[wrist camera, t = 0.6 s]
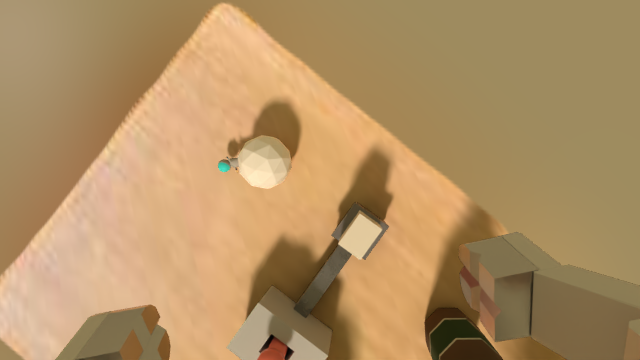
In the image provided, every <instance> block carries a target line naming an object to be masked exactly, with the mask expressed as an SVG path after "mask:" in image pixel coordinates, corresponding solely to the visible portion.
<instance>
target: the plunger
mask: <svg viewBox="0 0 640 360" xmlns="http://www.w3.org/2000/svg"><path fill="white" fill-rule="evenodd" d="M287 350H288V346H287V345H285V344H284V343H283V342H281V341H280V340H279V339H278V338H276V337H275V336H274V337H273V339H272V341H271V343H270V345H269V347H268V348H267V349H265V350H263V351H262V352H261V354H260V355H259V357H258V359H257V360H285V358H284V357H285V355H286V352H287Z"/></svg>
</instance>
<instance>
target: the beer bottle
mask: <svg viewBox="0 0 640 360" xmlns="http://www.w3.org/2000/svg"><path fill="white" fill-rule="evenodd" d="M425 336H426V343H427V347H428V349H429V352H430V354H431V357H432V359H433V360H503V359H502V357H501V356H500V355H499V354H498V352H497V351H496V350H495V348H494V347H493V346H492V345H491V343H490V342H489V341H488V340H487V338H486V337H485V336H484V335H483V333H482V332H481V331H480V330H479V328H478V327H477V326H476V325H475V324H474V323H473V322H472V321H471V320H470V319H469V318H468V317H467V316H466V315H464V314H463V313H462V312H461V311H460V310H459V309H458V308H438V309H437V310H436V311H435V312H434V313H433V314H432V315H431V316H430V317H429V318H428V319H427V320H426V321H425Z"/></svg>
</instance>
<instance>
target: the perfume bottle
mask: <svg viewBox="0 0 640 360" xmlns="http://www.w3.org/2000/svg"><path fill="white" fill-rule="evenodd" d="M227 158H228V157H227ZM228 160H229V161H228ZM228 160H221V161H220V162H219V163H218V168H219V170H220V171H222V172H227V171H228V170H229V169H230V168H231V166H232V167H234V168H235V169H236V172H237V173H238V171H237V168H236V167H239V171H240V174H241V175H242V176H243V177H244V178H245V179H246V180H247V181H248V182H249V183H250V185H251V186H255V187H261V188H266V189H270V188H272V187H274V186H276V185H278V184H280V183H282V182H284V180H285V179H286V177H287V175H288V173H289V171H290V170H291V168H292V166H291V156H290V151H289V150H288V149H287V148H286V147H285V145H284V144H283V143H282V142H281V141H280V140H279V139H278V138H274V137H271V136H265V135H261V136H258V137H256V138H254V139H251V140H249V141H247V142H246V143H245V145H244V146H243V148H242V150H241V152H240V153H239V155H238V158H231V159H229V158H228Z"/></svg>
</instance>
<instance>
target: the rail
mask: <svg viewBox="0 0 640 360" xmlns="http://www.w3.org/2000/svg"><path fill="white" fill-rule="evenodd" d="M364 209H366V208H364ZM366 210H367V211H369V210H368V209H366ZM369 212H370V213H371V214H373V213H372V212H371V211H369ZM373 215H374V216H376V215H375V214H373ZM376 217H377V216H376ZM377 218H378V217H377ZM351 255H352V254H351V253H350V252H348V251H347V250H345V249H344V248H343V247H341V246H340V245H339V244H338V245H337V247H336V248H335V249H334V251H333V252H332V254H331V255H330V256H329V258H328V259H327V261H326V262H325V263H324V265H323V266H322V268H321V269H320V270H319V272H318V273H317V275H316V276H315V277H314V279H313V280H312V282H311V283H310V284H309V286H308V287H307V289H306V290H305V291H304V293H303V294H302V296H301V297H300V298H299V300H298V301H297V303H296V304H295V306H294V308H293V309H294V310H295V311H297V312H298V313H299V314H301V315H302V316H303V317H305V318H307V316H308V315H309V313H310V312H311V311H312V309H313V308H314V306H315V305H316V304H317V302H318V301H319V299H320V298H321V297H322V295H323V294H324V293H325V291H326V290H327V288H328V287H329V286H330V284H331V283H332V281H333V280H334V279H335V277H336V276H337V275H338V273H339V272H340V270H341V269H342V268H343V266H344V265H345V263H346V262H347V261H348V259H349V258H350V256H351Z"/></svg>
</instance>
